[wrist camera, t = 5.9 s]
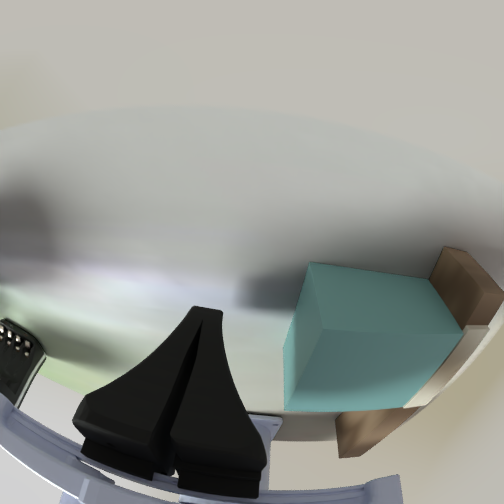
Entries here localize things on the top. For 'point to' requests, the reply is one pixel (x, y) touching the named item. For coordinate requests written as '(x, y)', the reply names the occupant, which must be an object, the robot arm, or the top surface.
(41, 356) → the battery charger
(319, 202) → the top surface
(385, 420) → the walnut board
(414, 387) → the teal block
